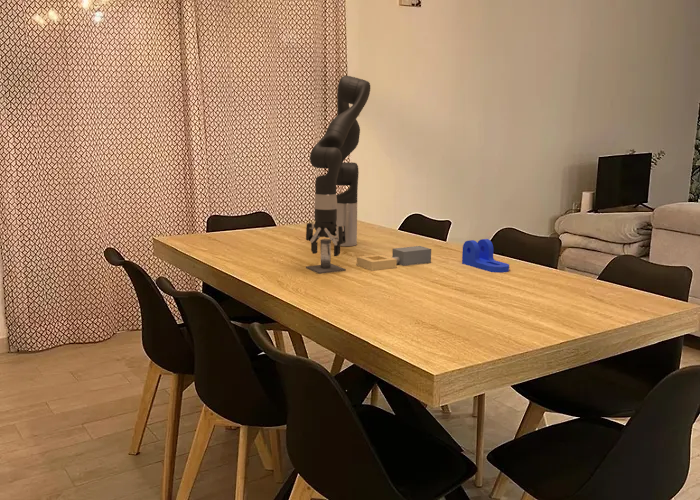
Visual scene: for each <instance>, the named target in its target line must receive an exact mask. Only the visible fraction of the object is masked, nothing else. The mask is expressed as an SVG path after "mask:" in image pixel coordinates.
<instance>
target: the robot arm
mask: <svg viewBox="0 0 700 500" xmlns="http://www.w3.org/2000/svg"><path fill="white" fill-rule="evenodd" d="M370 92H371V83H370V81H368V80H365V79H362V78H358V77H355V76H351V75H343V76H342V77H340V79H339V81H338V85H337V94H336V96H337V97H336V101H337V102H336V103H337V104H336V106H337V108H336V109H337V111H336V113H337V114H336V116H335V117H334V118H333V119H331V121H330V123H329V124H328V126H327V129H326V131H325V134H324V135H323V136H322V137H321V138H320V139H319V140H318V142H317V143H316V144H315V145H314V146H313V148H312V150H311V151H310V154H309V161H310V164H311V165H312V167H314V168H316V169H327V171H326V174H323V175H318V176H316V177H315V181H314V182H315V187H314V188H315V189H314V190H315V192H314V193H315V195H314V223H313V222H308V223H306V228H305V229H306V230H305V232H306V233H305V240H306V241H309V242H310V246H311V248H310V249H311V250H310V251H311V253H312V254H315V255H316V254H318V240H319V239H320V238H325V239H330V240H331V242H332V243H333V256H334V257H339V255H340V253H341V247H352V246H356V245H358V244H357V243H358V191H359V190H358V185H359V173H360V172H359V165H358V163H357V162H350V161H349V162H346V161H345V160H346V158H347V157H348V156H349V155H350V154H352V153H353V152H354V151H355V149H356V148H357V147H358V145H359V142H360V135H361V134H360V133H361V127H360V125H359V124H360V123H359V122H358V120H357V119H358V117H359V115H360V114H361V112H362V111H363V109H364V107H365V106H366V104H367V102H368V100H369V97H370ZM350 105H351V106H350ZM344 161H345V162H344ZM337 186H343V187H344V186H345V187H346V186H349V187H348V189H346V190H345V191H343V192H340V193H337ZM314 230H315V231H314Z"/></svg>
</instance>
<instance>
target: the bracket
mask: <svg viewBox="0 0 700 500" xmlns="http://www.w3.org/2000/svg"><path fill="white" fill-rule="evenodd" d="M461 254H462V257H461V264H462V265H465V266H469V267H472V268H476V269H478V270H479V269H480V270H483V271H486V272H489V273H490V272H491V273H499V274H501V273H508V272H509V271H510V264H509V263H506V262H502V261H499V260H496V259H495V258H494V245H493V242H492V241H491V240H490V239H489V238H484V239H483V238H482V239H479V240H478V241H476V240H474V239H473V240H470V239H469V240H466V241H464V243H463V245H462V253H461Z"/></svg>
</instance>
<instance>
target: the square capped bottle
mask: <svg viewBox="0 0 700 500" xmlns="http://www.w3.org/2000/svg"><path fill="white" fill-rule="evenodd" d="M319 242H320V265H321V268H322V269H329V268H331V264H332V262H331V259H332V258H331V257H332V256H331V255H332V252H331V251H332V250H331V249H332V244H331V243H332V240H330V238H322V239H320V241H319Z"/></svg>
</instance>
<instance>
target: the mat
mask: <svg viewBox="0 0 700 500" xmlns="http://www.w3.org/2000/svg"><path fill="white" fill-rule="evenodd" d="M305 269H307V270H310V271H312V272H314V273H316V274H319V275H321V274H329V273H330V274H331V273H337V272H338V273H339V272H346V270H347V269H346V268H344V267H342V266H339V265H335V264H334V263H331V268H329V269H322V268H321V264H316V265H307V266H305Z"/></svg>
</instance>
